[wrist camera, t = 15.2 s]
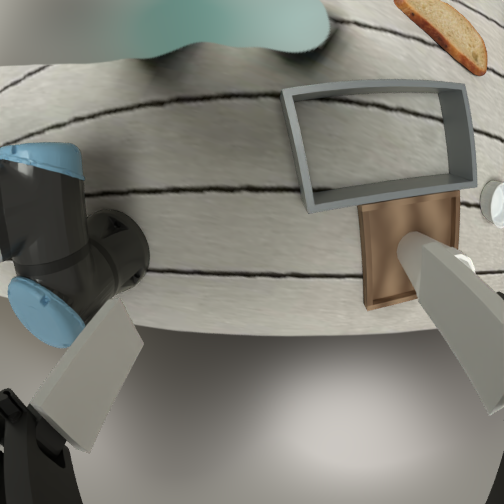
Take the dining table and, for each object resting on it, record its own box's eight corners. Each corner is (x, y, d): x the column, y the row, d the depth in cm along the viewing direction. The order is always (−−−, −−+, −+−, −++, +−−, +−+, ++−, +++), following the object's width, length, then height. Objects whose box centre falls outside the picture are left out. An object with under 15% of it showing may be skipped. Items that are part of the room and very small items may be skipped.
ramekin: (475, 182, 36) (489, 187, 32) (502, 173, 35) (515, 178, 31) (478, 226, 39) (491, 234, 35) (504, 214, 38) (517, 221, 34)
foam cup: (441, 248, 41) (481, 282, 29) (406, 282, 44) (438, 325, 32) (416, 211, 39) (461, 240, 27) (378, 249, 42) (411, 290, 30)
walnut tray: (363, 303, 47) (367, 310, 45) (356, 201, 40) (361, 205, 38) (447, 281, 44) (453, 287, 42) (452, 187, 37) (459, 190, 35)
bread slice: (385, -10, 24) (393, -18, 21) (455, -3, 21) (464, -8, 18) (427, 78, 31) (438, 75, 27) (490, 76, 27) (501, 75, 24)
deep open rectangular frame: (302, 201, 41) (308, 213, 34) (279, 97, 35) (281, 89, 28) (453, 178, 37) (477, 187, 30) (441, 88, 31) (464, 83, 24)
